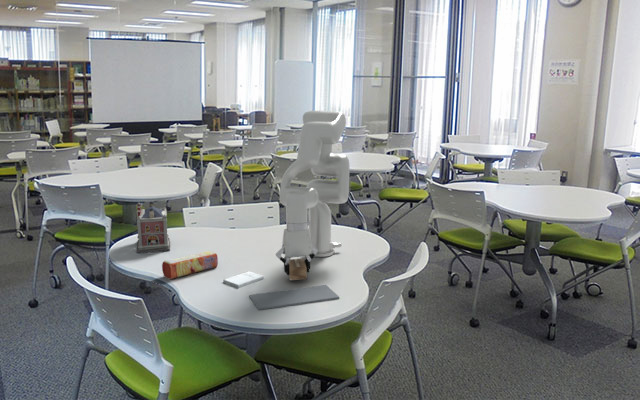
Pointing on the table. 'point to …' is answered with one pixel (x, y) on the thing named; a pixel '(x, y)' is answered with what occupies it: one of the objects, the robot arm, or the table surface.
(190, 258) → the snack package
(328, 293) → the mat
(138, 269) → the table surface
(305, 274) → the card box
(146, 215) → the model building
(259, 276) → the external hard drive
